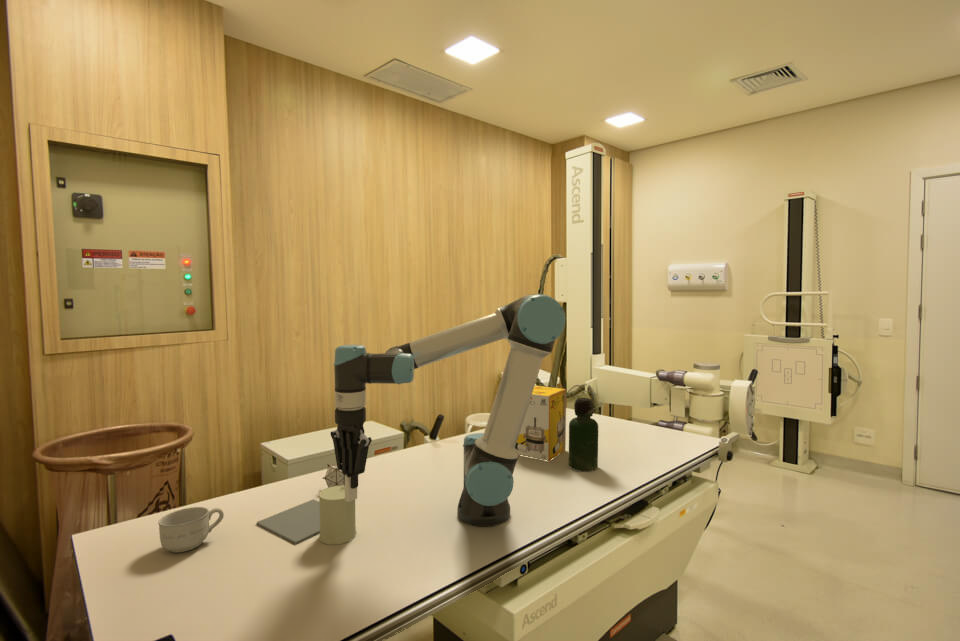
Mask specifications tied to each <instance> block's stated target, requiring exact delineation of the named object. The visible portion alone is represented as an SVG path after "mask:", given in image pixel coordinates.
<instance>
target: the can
mask: <svg viewBox="0 0 960 641" xmlns="http://www.w3.org/2000/svg"><path fill="white" fill-rule="evenodd" d="M318 501H319V503H320V533H319V541H320V542H321V543H323V544H325V545H330V546H331V545H332V546H334V545H335V546H336V545H342V544H345V543H348V542H349V541H352V540H353V539H355V537H356V535H357V531H356V530H357V529H356V528H357V527H356V499H355V500H352V501H350V502H347V501H345V486H333V487H329V488H328V487H326V488H324V489H323V490H321V491H320V492H319V494H318Z"/></svg>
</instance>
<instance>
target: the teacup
mask: <svg viewBox="0 0 960 641" xmlns="http://www.w3.org/2000/svg"><path fill="white" fill-rule="evenodd" d="M215 513H218V514H219V516H218V518H217V519H216V520H215V521H214V522H213V523H211V524H210V521H211V517H212V515H214V514H215ZM224 516H225V515H224V511H223V510H222V509H221V508H219V507H214V508H212V509H211V510H209V508H207V507H203V506H193V507H188V508H187V507H186V508H182V509H179V510H175V511H172V512H170V513H168V514H165V515H164V516H162V517H161V518H160V519H159V520H158V522H157V523H158V529H159V539H160V540H159V542H160V544H161V546H162V548H163V549H165V550H167V551H169V552H172V553H183V552H184V553H185V552H187V551H190V550H193V549H196V548H197V547H199V546H200V545H202V543H203V542H204V541H205V539H206V538H207V537H208V535H209V534H210V533H212V531H213V529H215V527H217V526H219V524H220V523H221V522H222V520H223V519H224Z"/></svg>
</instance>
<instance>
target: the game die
mask: <svg viewBox="0 0 960 641" xmlns="http://www.w3.org/2000/svg"><path fill="white" fill-rule="evenodd" d="M322 479H323V480H325V482H326V486H327V488H329V487H333V486H344V474H343V473H342V471H341V470H338V468H337V464H334V465H330V464H328V463H327V470H326V472H325V476H324V477H322Z"/></svg>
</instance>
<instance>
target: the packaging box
mask: <svg viewBox="0 0 960 641" xmlns="http://www.w3.org/2000/svg"><path fill="white" fill-rule="evenodd" d="M566 426H567V389H565V388H560V387H550V386H549V387H548V386H542V385H535V386H534V389H533V392H532V395H531V398H530V402H529V405H528V408H527V411H526V414H525V417H524V420H523V423H522V427H521V430H520V433H519V436H518V439H517V442H516V445H515V449H516V451H517V453H518V455H523V456H528V457H533V458H537V459H542V460H547V461H550V460H551V459H552V458H554V457H555V456H557V455H558V454H559V453H561V452H562V451H564V450H565V451H566V441H567V440H566V436H567V435H566V434H567V432H566V431H567V428H566ZM565 451H564V452H565ZM562 453H563V452H562ZM562 453H561V454H562ZM558 456H559V455H558ZM558 456H557V457H558ZM555 458H556V457H555ZM555 458H554V459H555ZM552 460H553V459H552ZM552 460H551V461H552ZM551 461H550V462H551Z"/></svg>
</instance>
